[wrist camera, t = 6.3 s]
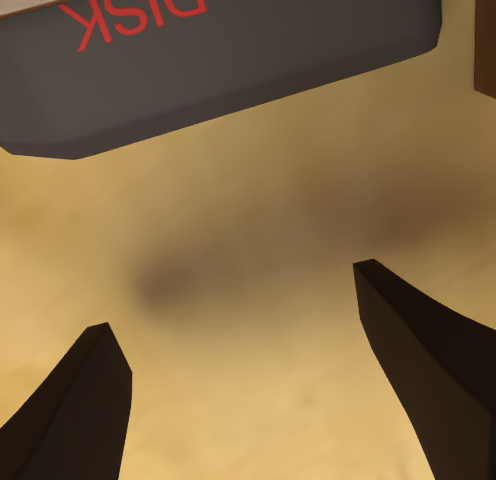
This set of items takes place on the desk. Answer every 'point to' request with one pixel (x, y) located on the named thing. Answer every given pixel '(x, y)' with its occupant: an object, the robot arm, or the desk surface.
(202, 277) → the desk surface
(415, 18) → the usb drive
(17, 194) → the desk surface
